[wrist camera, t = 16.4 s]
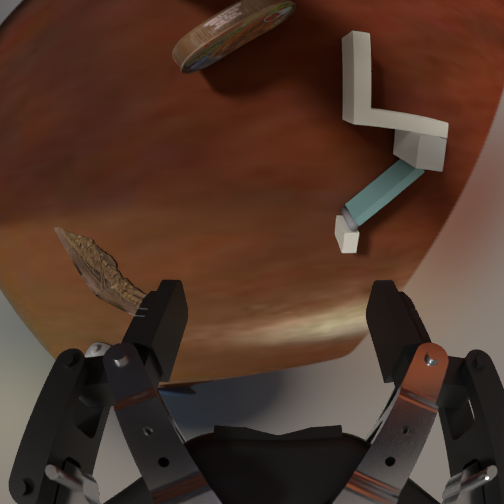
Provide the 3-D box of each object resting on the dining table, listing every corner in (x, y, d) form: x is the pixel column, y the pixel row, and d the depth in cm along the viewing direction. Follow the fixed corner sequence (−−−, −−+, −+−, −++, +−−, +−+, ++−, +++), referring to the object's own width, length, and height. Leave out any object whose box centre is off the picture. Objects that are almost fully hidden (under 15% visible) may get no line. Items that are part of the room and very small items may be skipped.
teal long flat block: (404, 155, 34) (421, 165, 29) (411, 165, 34) (428, 177, 30) (338, 209, 39) (347, 226, 34) (346, 219, 39) (356, 237, 35)
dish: (129, 380, 68) (124, 394, 64) (86, 355, 65) (79, 368, 60) (145, 359, 62) (139, 376, 57) (95, 330, 58) (87, 346, 54)
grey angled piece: (341, 38, 26) (352, 30, 22) (429, 56, 26) (449, 54, 21) (334, 233, 41) (341, 252, 37) (410, 235, 40) (424, 252, 36)
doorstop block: (395, 125, 31) (419, 134, 25) (420, 129, 31) (446, 139, 25) (393, 154, 33) (415, 168, 28) (417, 157, 33) (442, 171, 27)
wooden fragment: (164, 309, 52) (162, 313, 51) (131, 326, 56) (129, 330, 55) (72, 206, 42) (68, 209, 41) (47, 237, 45) (45, 240, 44)
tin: (194, 77, 31) (173, 73, 23) (181, 60, 29) (157, 52, 22) (295, 18, 26) (302, -2, 18) (280, 0, 24) (283, -23, 17)
